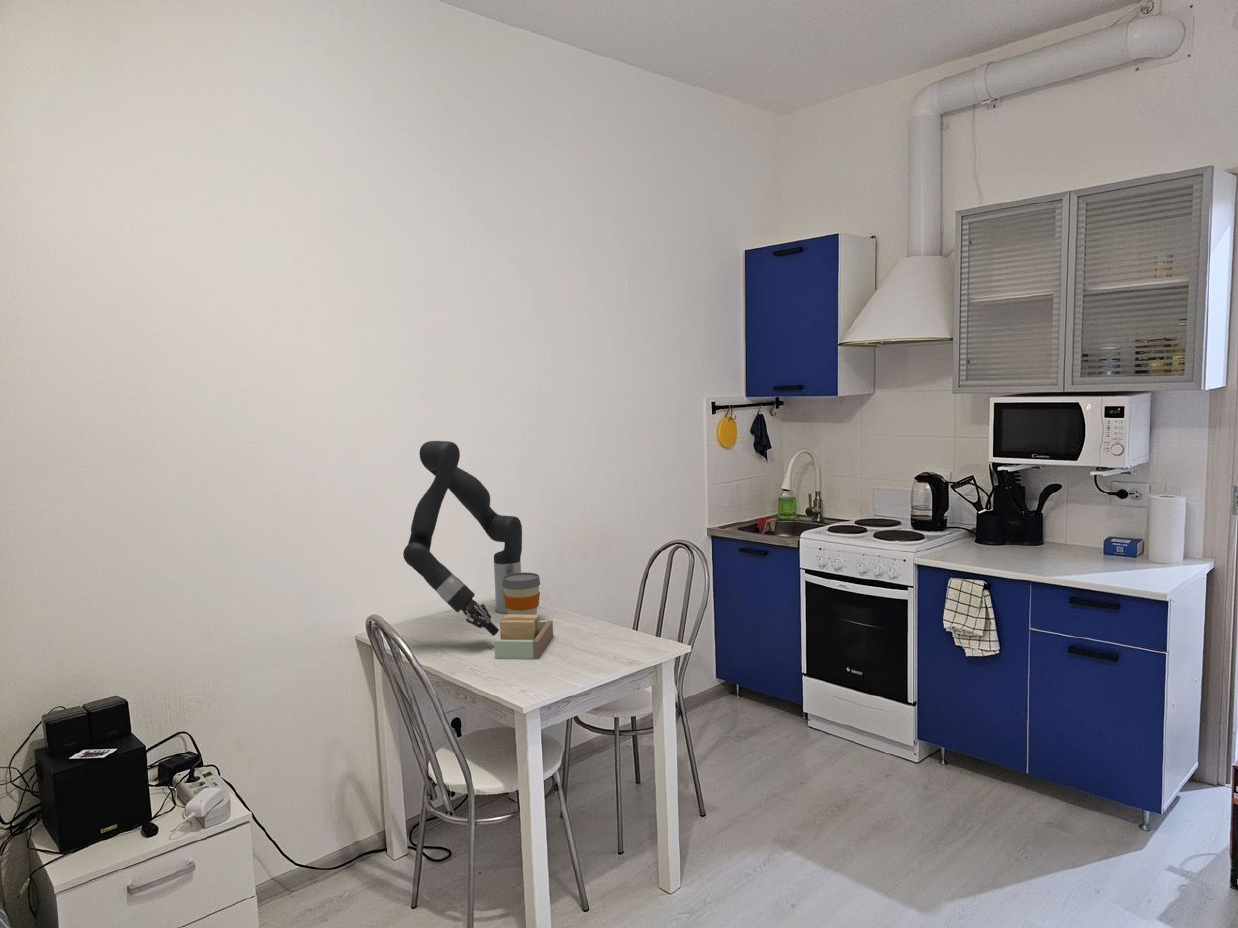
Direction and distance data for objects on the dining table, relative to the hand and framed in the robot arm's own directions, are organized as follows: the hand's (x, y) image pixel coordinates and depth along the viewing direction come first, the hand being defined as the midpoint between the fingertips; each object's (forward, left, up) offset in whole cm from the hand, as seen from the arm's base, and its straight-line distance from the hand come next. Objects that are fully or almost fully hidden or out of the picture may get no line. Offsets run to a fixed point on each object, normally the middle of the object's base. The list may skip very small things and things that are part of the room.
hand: (496, 633), depth 244 cm
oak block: (0, +7, -4) cm, 9 cm away
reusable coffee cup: (-27, +1, -4) cm, 27 cm away
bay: (0, +8, -4) cm, 9 cm away
